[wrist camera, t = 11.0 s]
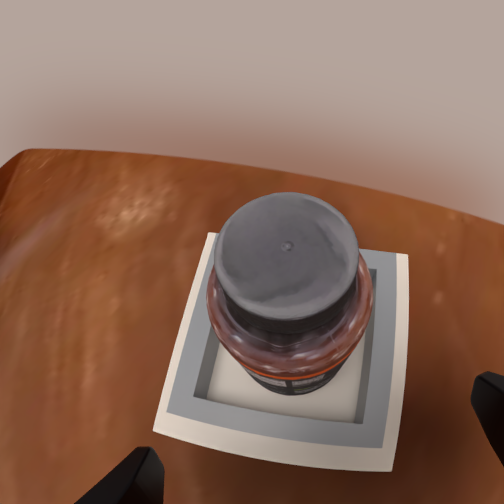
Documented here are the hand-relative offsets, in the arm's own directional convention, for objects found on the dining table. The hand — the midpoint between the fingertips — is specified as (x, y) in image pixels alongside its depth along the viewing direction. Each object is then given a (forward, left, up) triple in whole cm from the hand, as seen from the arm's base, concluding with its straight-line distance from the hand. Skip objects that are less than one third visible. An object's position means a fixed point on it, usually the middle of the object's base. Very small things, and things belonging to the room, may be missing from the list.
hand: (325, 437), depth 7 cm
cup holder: (+2, -5, -11) cm, 12 cm away
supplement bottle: (+2, -5, -10) cm, 11 cm away
